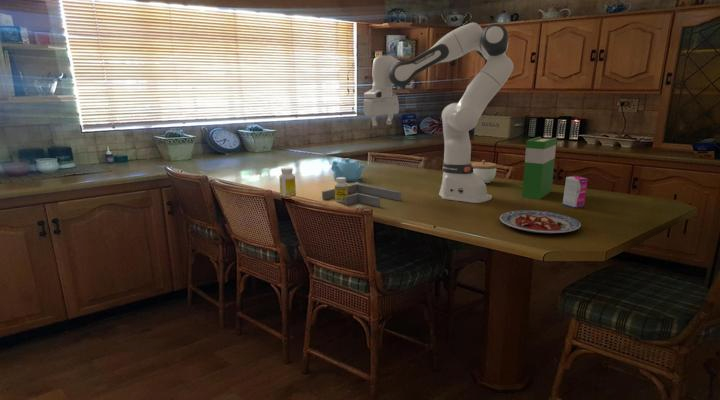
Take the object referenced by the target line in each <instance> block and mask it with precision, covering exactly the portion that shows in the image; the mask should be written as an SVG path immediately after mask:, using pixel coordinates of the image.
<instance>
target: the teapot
mask: <svg viewBox="0 0 720 400" xmlns="http://www.w3.org/2000/svg"><path fill="white" fill-rule="evenodd" d="M359 164H360V160H359V159H358V160H355V161H354V160H351V159H350V158H348V157H347V158H344V160H341V161H338V160H332V165H331V168H330V169H331V170H332V172H333V175H332V176H333V178H334V179H335V180H336V178H338V177H344V178H346V183H350V182H356V181H359V180H360V178H362V173H363V172H364V168H365V166H366V165H364V164H360V165H359Z"/></svg>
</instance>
